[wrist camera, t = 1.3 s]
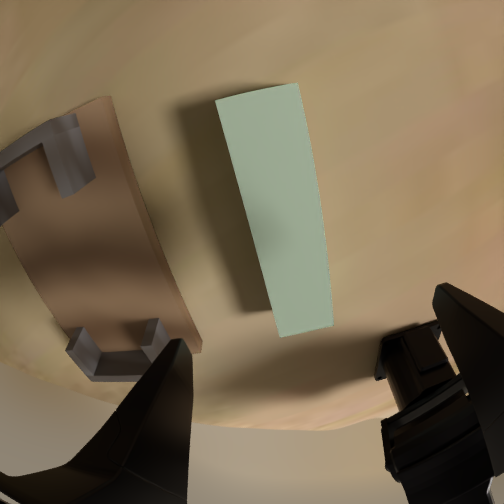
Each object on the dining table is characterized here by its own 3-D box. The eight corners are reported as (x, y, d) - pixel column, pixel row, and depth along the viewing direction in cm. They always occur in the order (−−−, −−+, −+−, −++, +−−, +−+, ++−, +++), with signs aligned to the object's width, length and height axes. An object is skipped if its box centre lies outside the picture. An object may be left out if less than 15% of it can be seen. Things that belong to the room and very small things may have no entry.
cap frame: (202, 340, 22) (198, 379, 18) (90, 350, 22) (78, 382, 19) (110, 95, 12) (76, 100, 9) (-9, 164, 13) (-43, 183, 10)
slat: (323, 295, 20) (333, 325, 18) (275, 306, 20) (279, 337, 18) (286, 84, 13) (297, 82, 10) (219, 99, 13) (214, 100, 11)
